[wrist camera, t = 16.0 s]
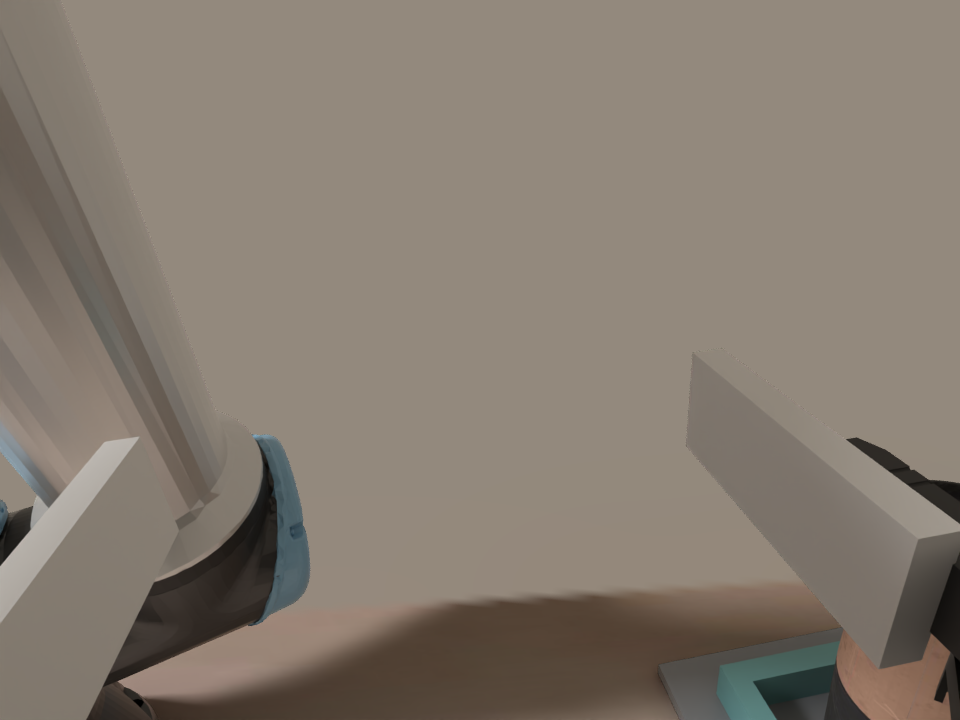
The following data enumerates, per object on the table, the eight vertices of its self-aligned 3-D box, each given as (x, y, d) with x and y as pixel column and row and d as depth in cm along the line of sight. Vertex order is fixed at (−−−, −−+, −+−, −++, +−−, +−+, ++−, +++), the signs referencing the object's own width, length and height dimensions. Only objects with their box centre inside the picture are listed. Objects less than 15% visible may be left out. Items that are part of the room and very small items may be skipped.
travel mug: (785, 748, 37) (838, 506, 29) (869, 699, 39) (942, 461, 31) (903, 882, 31) (1018, 621, 22) (996, 814, 33) (1132, 554, 24)
